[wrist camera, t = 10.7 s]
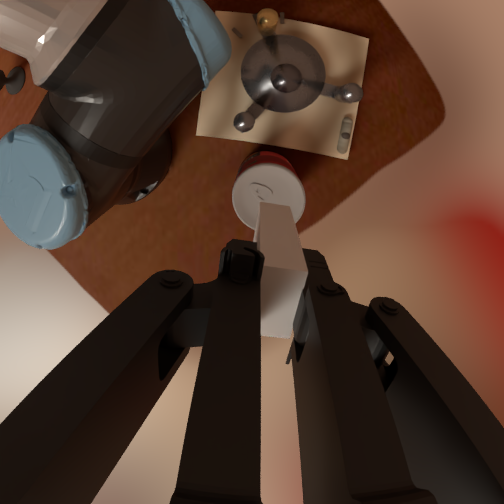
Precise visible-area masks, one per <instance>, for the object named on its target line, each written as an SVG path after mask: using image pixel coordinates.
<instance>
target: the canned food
mask: <svg viewBox="0 0 504 504" xmlns="http://www.w3.org/2000/svg"><path fill="white" fill-rule="evenodd" d="M232 201H233V206H234V209H235V212H236V213H237V215H238V217H239V218H240V219H241V220H242V222H243V223H245V224H246V225H247V226H248V227H250V228H252V229H254V230H255V228H256V222H257V216H258V210H259V204H260V202H266V203H273V204H279V205H285V206H290V208H291V211H292V215H293V218H294V222H295V223H296V222H297V221H298V220H299V219H300V217H301V216H302V214H303V211H304V208H305V192H304V188H303V185H302V183H301V181H300V179H299V177H298V175H297V174H296V172H295V170H294V168H293V167H292V165H291V164H290V162H289V161H288V160H287V159H286V158H285V157H283V156H282V155H280V154H278V153H275V152H271V151H260V152H256V153H254V154H252V155H250V156H249V157H247V158H246V159H245V160H244V161H243V163H242V164H241V166H240V168H239V171H238V174H237V177H236V180H235V183H234V186H233V190H232Z"/></svg>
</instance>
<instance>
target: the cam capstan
mask: <svg viewBox="0 0 504 504" xmlns="http://www.w3.org/2000/svg"><path fill="white" fill-rule="evenodd" d="M256 23H257V29H258V32H259V33H260V34H261V36H262V38H263V39H261V40H259V41H258V42H256V43H255V44H254V45H253V46H251V48H250V49H249V50H248V51H247V53H246V54H245V56H244V58H243V61H242V64H241V80H242V83H243V86H244V88H245V90H246V92H247V94H248V95H249V96H250V97H251V99H252V100H253V101H254V103H253V104H252V105H251V106H250V107H249V108H248V109H247V110H246V111H245V112H240V113H238V114H237V115H236V116H235V118H234V121H233V123H234V124H233V126H234V127H235V128H236V129H237V130H238V131H240V132H241V133H244V132H248V131H250V130H251V129H252V128H253V127H254V124H255V120H256V119H257V118H258V117H259V115H260V114H261V113H262V112H263V111H264V110H265V109H267V110H270V111H274V112H280V113H289V112H295V111H299V110H302V109H304V108H306V107H308V106H309V105H311V104H312V103H313V102H314V101H315V100H316V99H317V98H318V97H319V95H321V96H325V97H329V98H332V99H335V100H337V101H338V102H341V103H349V104H352V102H358V101H360V100H361V99H362V97H363V90H362V88H361V87H360V86H359V85H358V84H356V83H348V84H344V85H340V86H335V85H331V84H328V83H325V79H326V72H325V66H324V63H323V60H322V58H321V56H320V55H319V53H318V52H317V50H316V49H315V48H314V47H313V46H312V45H310V44H309V43H308V42H306V41H304V40H303V39H301V38H298V37H295V36H291V35H283V34H280V35H276V32H275V31H276V27H277V23H278V14H277V12H276V11H274V10H273V9H269V8H266V9H262V10H261V11H259V13H258V14H257V20H256Z"/></svg>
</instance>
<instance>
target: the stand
mask: <svg viewBox="0 0 504 504" xmlns="http://www.w3.org/2000/svg"><path fill="white" fill-rule="evenodd" d="M257 14H258V13H256V14H249V13H239V12H228V11H215V15H216V16H217V17H218V19H219V20H220V22H221V23H222V25H223V26H224V28H225V30H226V31H227V33H228V35H229V38H230V40H231V46H232V52H231V57H230V59H229V61H228V62H227V64H226V65H225V66H224V67H223V68H222V69H221V70H220V71H219V72H218V73H217V74H216V76H215V77H214V78H213V79H212V80H211V81H210V82H209V86H208V88H207V89H206V90H205V91H202V94H201V101H200V109H199V116H198V124H197V132H196V135H200V136H209V137H217V138H226V139H233V140H241V141H248V142H254V143H261V144H267V145H274V146H280V147H285V148H291V149H297V150H302V151H307V152H312V153H317V154H322V155H327V156H332V157H337V158H341V159H346V160H347V159H348V155H349V150H350V145H351V140H352V135H353V130H354V125H355V120H356V115H357V110H358V104H359V101H358V102H352V104H349V103H341V102H338V101H337V100H335V99H332V98H329V97H325V96H321V95H319V97H318V98H317V99H316V100H315V101H314V102H313V103H312V104H311V105H309V106H308V107H306V108H304V109H302V110H299V111H295V112H289V113H280V112H274V111H270V110H267V109H265V110H264V111H263V112H262V113H261V114H260V115H259V117H258V118H257V119H256V120H255V124H254V127H253V128H252V129H251V130H250V131H248V132H244V133H241V132H240V131H238V130H237V129H236V128H235V127H234V126H233V124H234V123H233V121H234V118H235V116H236V115H237V114H238V113H240V112H245V111H246V110H247V109H248V108H249V107H250V106H251V105H252V104H253V103H254V101H253V100H252V99H251V97H250V96H249V95H248V94H247V92H246V90H245V88H244V86H243V83H242V80H241V64H242V61H243V58H244V56H245V54H246V53H247V51H248V50H249V49H250V48H251V46H253V45H254V44H255V43H256V42H258V41H259V40H261V39H263V38H262V36H261V34H260V33H259V32H258V29H257V23H256V20H257ZM275 32H276V35H280V34H283V35H291V36H295V37H298V38H301V39H303V40H304V41H306V42H308V43H309V44H310V45H312V46H313V47H314V48H315V49H316V50H317V52H318V53H319V55H320V56H321V58H322V60H323V63H324V66H325V72H326V79H325V83H328V84H331V85H335V86H340V85H344V84H348V83H356V84H358V85H359V86H360V87H362V81H363V75H364V69H365V63H366V56H367V50H368V43H369V39H368V38H365V37H361V36H358V35H354V34H351V33H347V32H344V31H340V30H336V29H332V28H328V27H324V26H319V25H315V24H310V23H306V22H301V21H295V20H290V19H284V12H280V18H278V23H277V27H276V31H275Z"/></svg>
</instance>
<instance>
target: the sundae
mask: <svg viewBox="0 0 504 504" xmlns="http://www.w3.org/2000/svg"><path fill="white" fill-rule="evenodd" d="M24 81H25V73H24V70H23V69H22V68H21V67H15V68H14V69H12V70H11V71H10V73H9V74H8V76H7V78H6V77H5V74H4V72H3V71H2V70H0V90H1V89H2V88H3V86H4V85H5V84H6V89H7V91H8V92H9V93H10V94H12V95H13V94H17V93H18V92H19V91H20V90H21V88H22V87H23V84H24Z"/></svg>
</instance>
